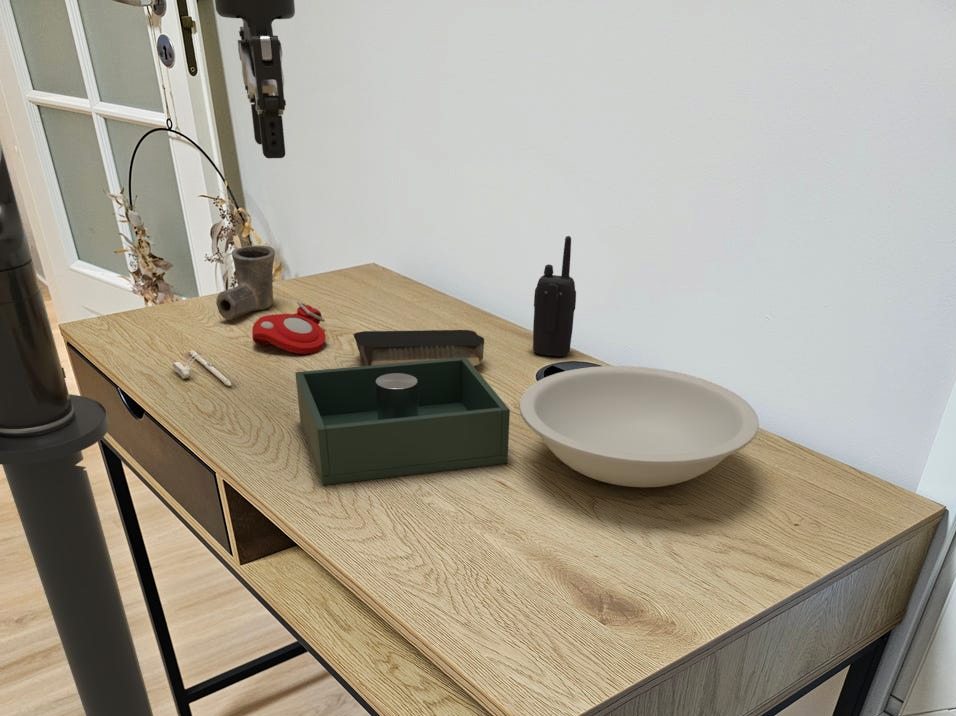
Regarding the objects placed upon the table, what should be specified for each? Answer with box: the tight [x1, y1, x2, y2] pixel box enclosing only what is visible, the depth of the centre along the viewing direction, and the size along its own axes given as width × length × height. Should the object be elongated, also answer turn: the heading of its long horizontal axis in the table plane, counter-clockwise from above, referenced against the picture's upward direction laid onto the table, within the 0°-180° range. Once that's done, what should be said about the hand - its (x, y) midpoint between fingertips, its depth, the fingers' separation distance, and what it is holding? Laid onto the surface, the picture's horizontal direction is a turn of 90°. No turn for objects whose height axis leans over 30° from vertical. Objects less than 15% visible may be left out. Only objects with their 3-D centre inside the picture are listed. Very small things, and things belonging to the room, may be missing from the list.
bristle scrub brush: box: [353, 329, 485, 367], centre depth 115 cm, size 16×8×4 cm, turn 98°
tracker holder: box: [251, 300, 327, 355], centre depth 121 cm, size 12×4×10 cm
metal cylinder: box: [376, 373, 418, 420], centre depth 95 cm, size 4×4×6 cm
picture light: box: [172, 349, 232, 387], centre depth 111 cm, size 14×4×2 cm, turn 34°
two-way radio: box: [532, 235, 577, 358], centre depth 116 cm, size 6×4×15 cm
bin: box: [295, 357, 511, 486], centre depth 95 cm, size 20×16×6 cm
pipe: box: [215, 244, 276, 320], centre depth 130 cm, size 6×13×8 cm, turn 162°
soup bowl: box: [518, 365, 760, 488], centre depth 91 cm, size 24×24×7 cm
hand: (270, 150), depth 93 cm, fingers open, 8 cm apart
